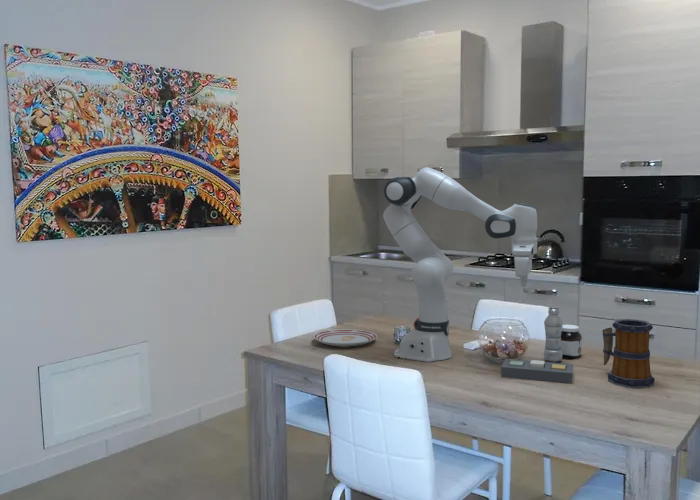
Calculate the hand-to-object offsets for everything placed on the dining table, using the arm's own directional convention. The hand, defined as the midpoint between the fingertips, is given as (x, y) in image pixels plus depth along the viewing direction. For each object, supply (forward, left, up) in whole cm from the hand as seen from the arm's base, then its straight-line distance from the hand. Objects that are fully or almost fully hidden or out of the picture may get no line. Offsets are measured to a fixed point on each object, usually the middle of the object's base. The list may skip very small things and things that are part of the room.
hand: (523, 286), depth 227 cm
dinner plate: (-75, +12, -30) cm, 82 cm away
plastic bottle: (+10, +8, -29) cm, 32 cm away
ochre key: (+13, -12, -27) cm, 32 cm away
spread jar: (+14, +19, -29) cm, 38 cm away
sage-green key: (-1, -12, -27) cm, 30 cm away
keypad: (+6, -11, -29) cm, 32 cm away
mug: (+34, -7, -29) cm, 45 cm away
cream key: (+6, -12, -26) cm, 29 cm away
